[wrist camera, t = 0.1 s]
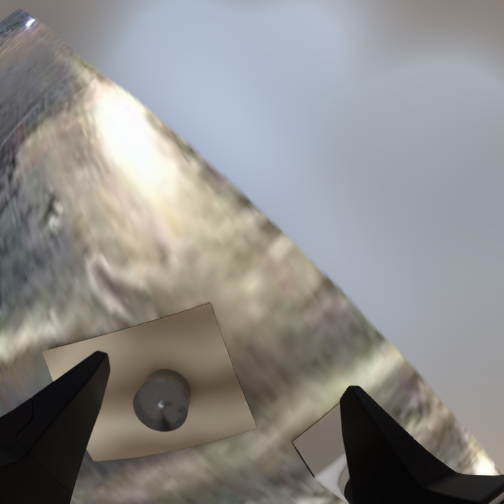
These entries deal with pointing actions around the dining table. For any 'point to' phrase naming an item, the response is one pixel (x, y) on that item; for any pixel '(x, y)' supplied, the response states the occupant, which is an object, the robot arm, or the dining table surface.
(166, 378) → the piston
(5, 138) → the dining table surface
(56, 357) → the piston stand
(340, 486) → the medicine bottle
